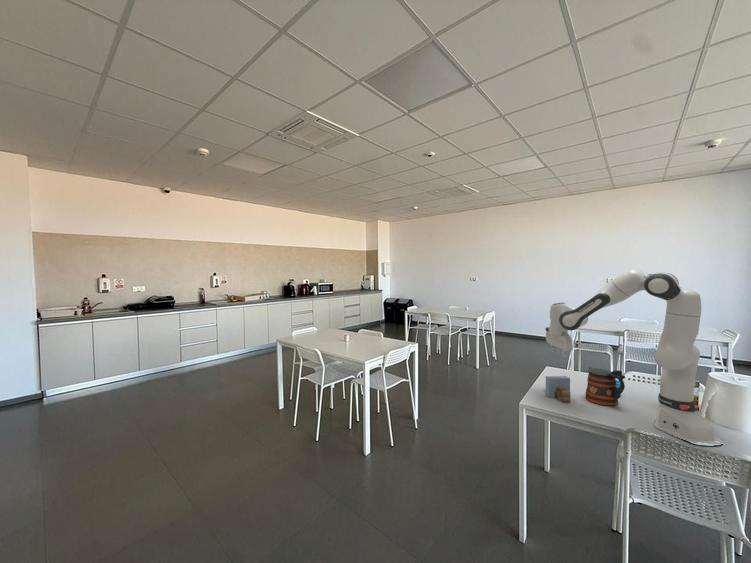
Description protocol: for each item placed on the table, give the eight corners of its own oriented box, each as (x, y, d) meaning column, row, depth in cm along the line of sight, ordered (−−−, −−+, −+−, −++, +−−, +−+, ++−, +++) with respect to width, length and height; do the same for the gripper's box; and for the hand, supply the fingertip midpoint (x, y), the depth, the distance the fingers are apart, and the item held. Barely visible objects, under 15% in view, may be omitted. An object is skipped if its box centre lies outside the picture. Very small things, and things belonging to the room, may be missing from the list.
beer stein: (633, 406, 161) (634, 369, 161) (616, 412, 156) (616, 373, 155) (596, 393, 179) (596, 359, 178) (579, 397, 174) (579, 363, 173)
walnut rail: (570, 402, 168) (570, 391, 167) (563, 402, 168) (564, 392, 167) (551, 389, 186) (551, 379, 185) (546, 389, 186) (546, 380, 185)
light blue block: (566, 394, 178) (566, 375, 178) (570, 397, 175) (570, 378, 174) (545, 394, 178) (545, 376, 178) (548, 397, 175) (548, 378, 174)
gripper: (576, 334, 165) (576, 359, 165) (554, 327, 185) (554, 349, 186) (564, 334, 165) (564, 360, 165) (543, 327, 185) (543, 350, 186)
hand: (558, 354), depth 176 cm, fingers open, 8 cm apart
